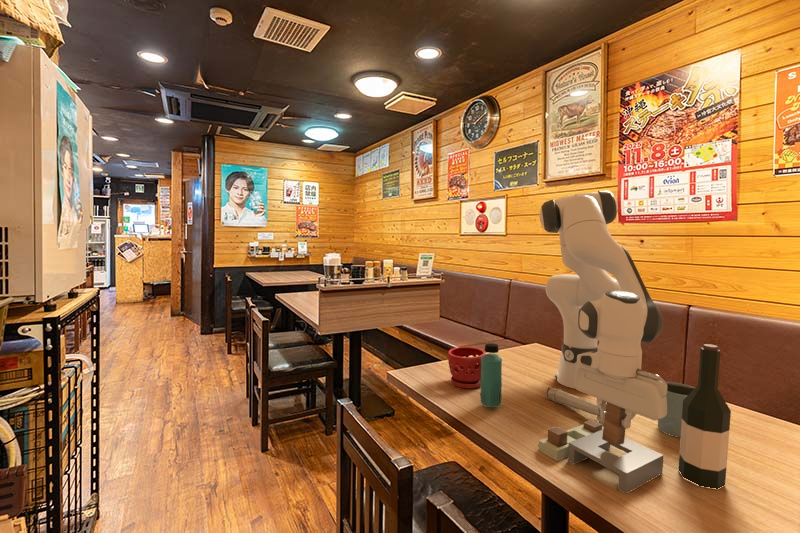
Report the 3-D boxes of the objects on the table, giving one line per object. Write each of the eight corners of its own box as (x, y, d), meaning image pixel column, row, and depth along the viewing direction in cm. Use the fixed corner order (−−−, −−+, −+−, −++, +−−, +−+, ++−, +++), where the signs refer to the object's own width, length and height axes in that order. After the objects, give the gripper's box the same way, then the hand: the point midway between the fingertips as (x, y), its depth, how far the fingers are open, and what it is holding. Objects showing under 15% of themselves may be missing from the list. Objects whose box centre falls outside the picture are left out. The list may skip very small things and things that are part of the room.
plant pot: (462, 374, 153) (462, 343, 152) (492, 384, 144) (493, 351, 143) (440, 383, 144) (440, 350, 143) (470, 394, 135) (471, 359, 134)
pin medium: (555, 447, 102) (556, 426, 102) (566, 453, 99) (567, 431, 99) (547, 450, 101) (547, 429, 100) (557, 456, 98) (558, 434, 97)
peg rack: (591, 430, 111) (591, 421, 111) (609, 439, 106) (610, 429, 106) (538, 450, 101) (538, 440, 100) (556, 460, 96) (557, 450, 96)
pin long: (610, 437, 95) (615, 399, 95) (623, 443, 92) (628, 404, 92) (602, 439, 93) (606, 400, 93) (615, 445, 90) (620, 406, 90)
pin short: (590, 433, 109) (591, 419, 109) (601, 439, 106) (602, 424, 106) (583, 436, 108) (583, 422, 107) (593, 442, 105) (594, 427, 104)
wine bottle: (669, 468, 93) (677, 340, 91) (702, 466, 94) (712, 340, 91) (698, 491, 85) (708, 351, 83) (735, 489, 86) (746, 350, 83)
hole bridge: (604, 445, 103) (605, 428, 103) (662, 474, 91) (663, 455, 91) (567, 460, 96) (568, 442, 96) (625, 493, 84) (626, 473, 84)
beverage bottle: (501, 413, 121) (503, 347, 119) (479, 411, 122) (480, 346, 121) (500, 404, 127) (502, 342, 126) (479, 402, 129) (481, 340, 127)
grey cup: (647, 425, 114) (649, 384, 113) (670, 419, 118) (673, 379, 117) (684, 443, 104) (687, 398, 103) (708, 435, 108) (711, 392, 107)
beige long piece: (556, 385, 133) (624, 405, 110) (557, 406, 133) (626, 430, 110) (544, 388, 131) (610, 408, 108) (545, 408, 131) (612, 433, 108)
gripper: (676, 375, 84) (671, 439, 85) (587, 350, 102) (584, 403, 103) (659, 380, 81) (654, 447, 82) (571, 353, 98) (568, 408, 100)
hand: (615, 422), depth 92 cm, fingers closed on pin long, 3 cm apart
